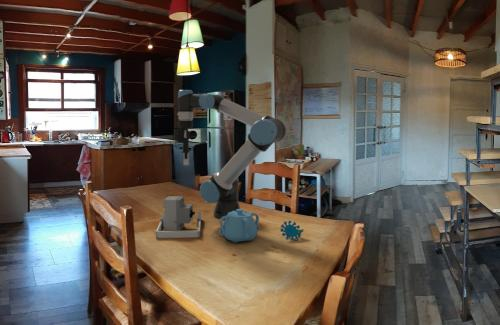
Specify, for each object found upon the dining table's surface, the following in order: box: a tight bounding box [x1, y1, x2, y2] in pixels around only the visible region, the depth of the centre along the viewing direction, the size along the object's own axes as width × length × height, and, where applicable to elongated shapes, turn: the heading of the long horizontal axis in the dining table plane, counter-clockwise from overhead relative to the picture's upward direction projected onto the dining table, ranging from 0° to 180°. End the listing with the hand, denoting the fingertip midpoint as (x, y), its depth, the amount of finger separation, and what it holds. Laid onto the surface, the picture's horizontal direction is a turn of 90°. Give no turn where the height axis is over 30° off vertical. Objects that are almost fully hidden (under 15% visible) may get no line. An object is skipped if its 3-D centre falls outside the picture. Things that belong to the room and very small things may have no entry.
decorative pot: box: [218, 208, 260, 244], centre depth 180 cm, size 16×16×14 cm
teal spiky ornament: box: [280, 220, 305, 241], centre depth 183 cm, size 11×6×10 cm
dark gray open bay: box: [159, 211, 202, 228], centre depth 204 cm, size 20×13×4 cm, turn 96°
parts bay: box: [155, 220, 202, 239], centre depth 190 cm, size 20×17×3 cm
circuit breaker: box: [162, 195, 196, 231], centre depth 195 cm, size 8×14×15 cm, turn 83°
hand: (186, 164), depth 213 cm, fingers closed
